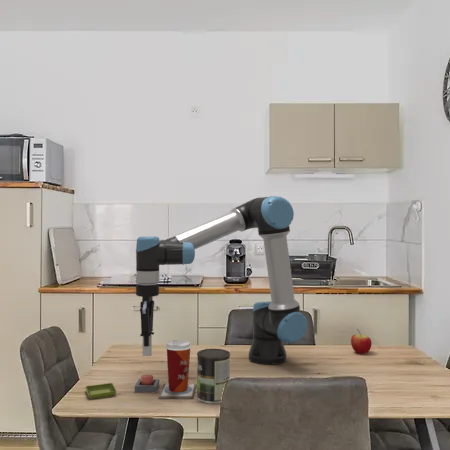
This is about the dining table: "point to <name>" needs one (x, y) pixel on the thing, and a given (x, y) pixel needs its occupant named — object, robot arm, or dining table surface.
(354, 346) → the apple
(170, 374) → the coffee cup
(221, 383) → the coffee can
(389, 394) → the dining table surface
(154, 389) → the button housing
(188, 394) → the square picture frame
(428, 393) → the dining table surface
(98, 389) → the green rectangular tray
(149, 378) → the button
